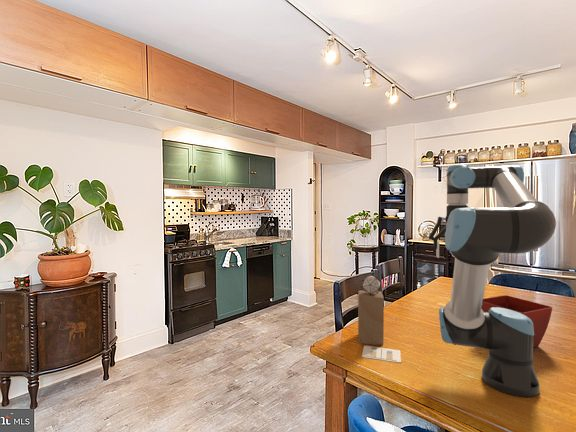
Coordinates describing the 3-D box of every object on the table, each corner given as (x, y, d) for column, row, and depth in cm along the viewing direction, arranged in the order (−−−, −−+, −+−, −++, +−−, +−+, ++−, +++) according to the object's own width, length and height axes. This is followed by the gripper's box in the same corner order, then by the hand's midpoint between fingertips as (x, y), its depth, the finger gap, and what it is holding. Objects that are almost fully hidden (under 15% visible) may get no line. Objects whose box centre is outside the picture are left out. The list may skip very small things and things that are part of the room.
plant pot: (475, 337, 137) (476, 299, 136) (505, 330, 144) (506, 294, 143) (521, 356, 119) (522, 312, 118) (553, 348, 126) (554, 307, 125)
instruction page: (400, 362, 114) (400, 362, 114) (361, 357, 119) (361, 356, 119) (400, 350, 124) (400, 350, 124) (364, 345, 128) (364, 345, 128)
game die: (367, 303, 133) (354, 285, 132) (370, 291, 140) (357, 274, 139) (386, 295, 128) (372, 277, 127) (387, 284, 135) (374, 266, 134)
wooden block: (383, 345, 128) (383, 297, 128) (358, 343, 130) (358, 296, 130) (381, 336, 138) (381, 291, 137) (358, 334, 140) (358, 290, 139)
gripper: (490, 204, 123) (489, 258, 124) (422, 204, 131) (421, 255, 132) (496, 204, 116) (495, 261, 117) (424, 204, 124) (423, 257, 125)
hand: (456, 258), depth 124 cm, fingers open, 13 cm apart
